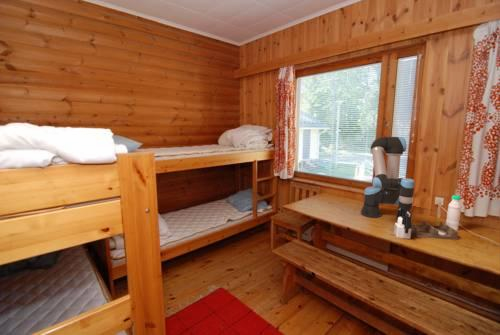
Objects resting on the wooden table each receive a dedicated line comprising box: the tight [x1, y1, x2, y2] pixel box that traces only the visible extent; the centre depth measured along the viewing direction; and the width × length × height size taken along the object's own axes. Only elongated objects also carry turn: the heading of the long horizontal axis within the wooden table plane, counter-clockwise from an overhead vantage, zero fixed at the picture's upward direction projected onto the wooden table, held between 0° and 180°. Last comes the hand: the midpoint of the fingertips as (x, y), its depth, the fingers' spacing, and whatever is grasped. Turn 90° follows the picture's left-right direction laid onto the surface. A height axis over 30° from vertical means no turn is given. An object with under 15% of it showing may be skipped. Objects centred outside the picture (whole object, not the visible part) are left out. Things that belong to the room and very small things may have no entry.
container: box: [393, 217, 412, 240], centre depth 161 cm, size 8×8×13 cm
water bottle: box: [445, 194, 462, 231], centre depth 168 cm, size 7×7×25 cm
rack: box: [411, 220, 459, 241], centre depth 164 cm, size 18×24×6 cm
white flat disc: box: [437, 229, 446, 236], centre depth 164 cm, size 8×8×1 cm
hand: (401, 234), depth 162 cm, fingers open, 8 cm apart
